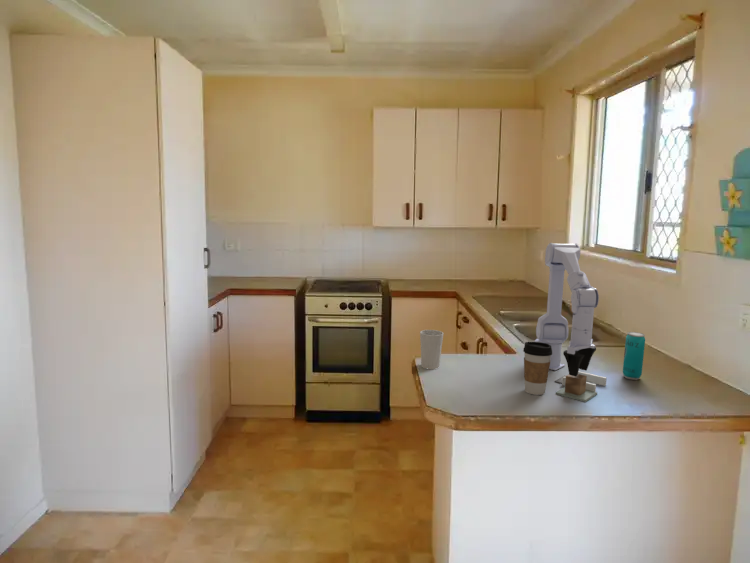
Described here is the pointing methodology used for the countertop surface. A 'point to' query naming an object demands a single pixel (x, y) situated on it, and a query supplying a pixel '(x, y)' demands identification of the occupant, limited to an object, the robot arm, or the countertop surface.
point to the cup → (431, 348)
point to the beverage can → (633, 355)
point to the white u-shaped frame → (590, 378)
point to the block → (575, 384)
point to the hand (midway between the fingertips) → (578, 372)
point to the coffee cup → (536, 366)
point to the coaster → (583, 397)
